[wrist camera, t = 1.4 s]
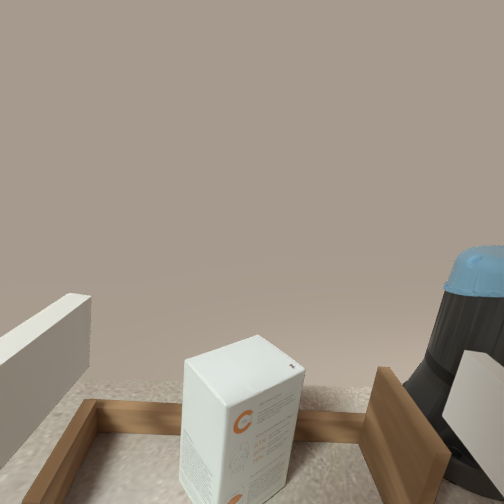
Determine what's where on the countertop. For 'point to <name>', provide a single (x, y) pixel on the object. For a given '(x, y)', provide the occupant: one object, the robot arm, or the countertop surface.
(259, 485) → the small box
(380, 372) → the wooden u-shaped frame
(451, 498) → the countertop surface
